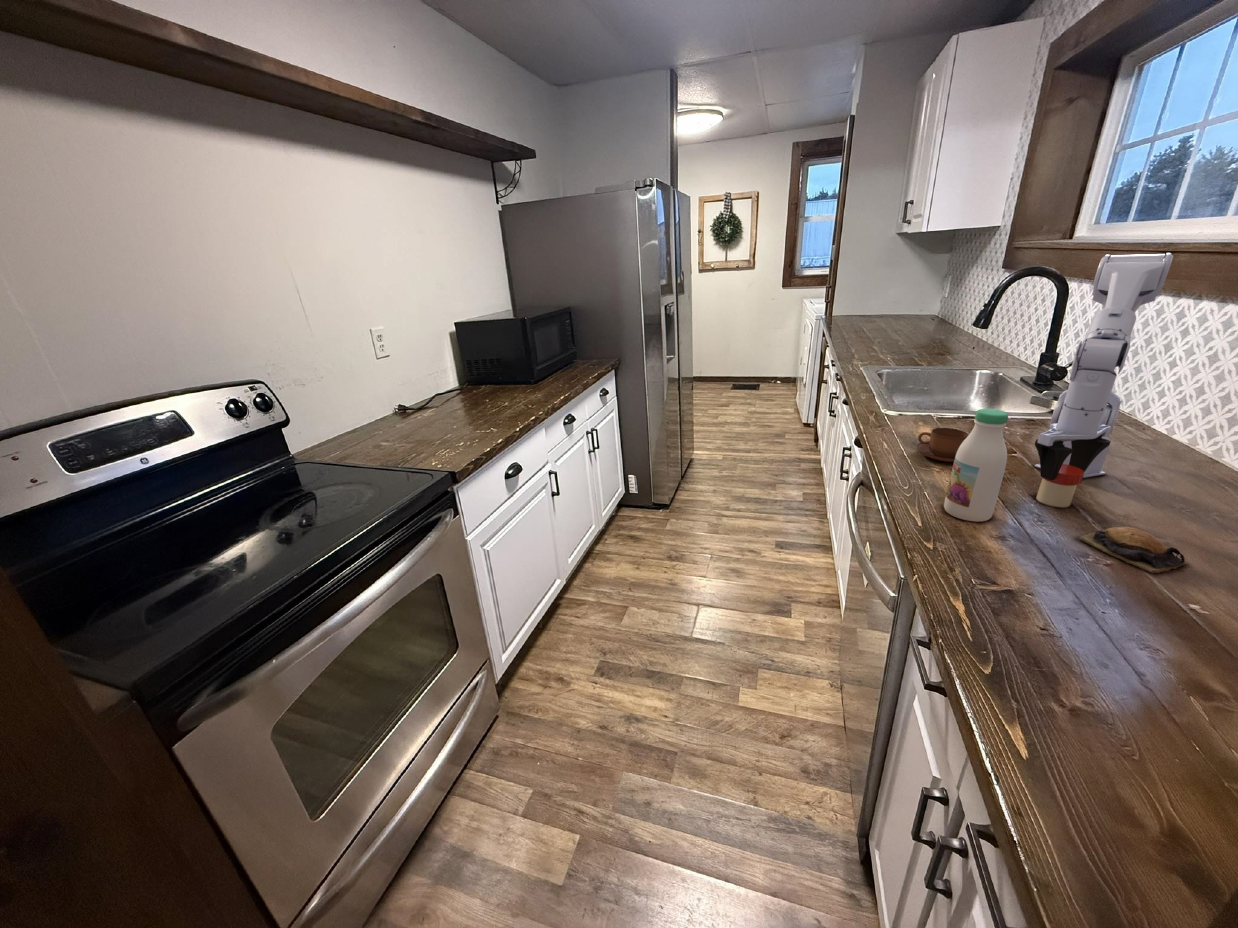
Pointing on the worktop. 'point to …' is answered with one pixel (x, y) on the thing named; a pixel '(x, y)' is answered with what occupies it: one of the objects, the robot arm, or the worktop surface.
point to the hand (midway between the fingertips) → (1061, 475)
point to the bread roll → (1136, 548)
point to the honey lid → (1068, 475)
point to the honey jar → (1055, 494)
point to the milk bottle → (978, 468)
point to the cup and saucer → (942, 443)
